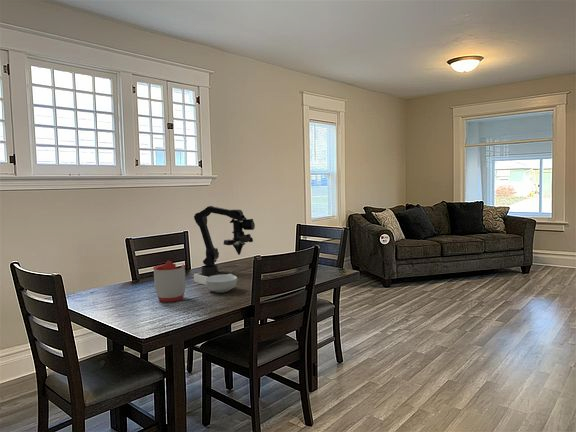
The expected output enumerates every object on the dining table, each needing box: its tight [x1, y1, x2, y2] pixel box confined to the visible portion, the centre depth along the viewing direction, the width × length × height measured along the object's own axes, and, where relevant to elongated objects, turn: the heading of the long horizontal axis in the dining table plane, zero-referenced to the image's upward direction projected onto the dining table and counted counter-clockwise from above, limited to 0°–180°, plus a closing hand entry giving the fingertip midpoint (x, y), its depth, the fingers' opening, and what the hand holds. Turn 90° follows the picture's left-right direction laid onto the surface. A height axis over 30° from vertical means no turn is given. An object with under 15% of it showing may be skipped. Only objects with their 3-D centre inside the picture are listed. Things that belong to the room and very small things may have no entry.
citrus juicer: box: [152, 260, 186, 303], centre depth 228 cm, size 16×17×20 cm
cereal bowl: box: [205, 274, 238, 294], centre depth 242 cm, size 17×17×7 cm
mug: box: [200, 264, 221, 277], centre depth 264 cm, size 9×12×9 cm
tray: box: [193, 272, 233, 286], centre depth 264 cm, size 18×14×4 cm
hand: (239, 254), depth 283 cm, fingers closed
